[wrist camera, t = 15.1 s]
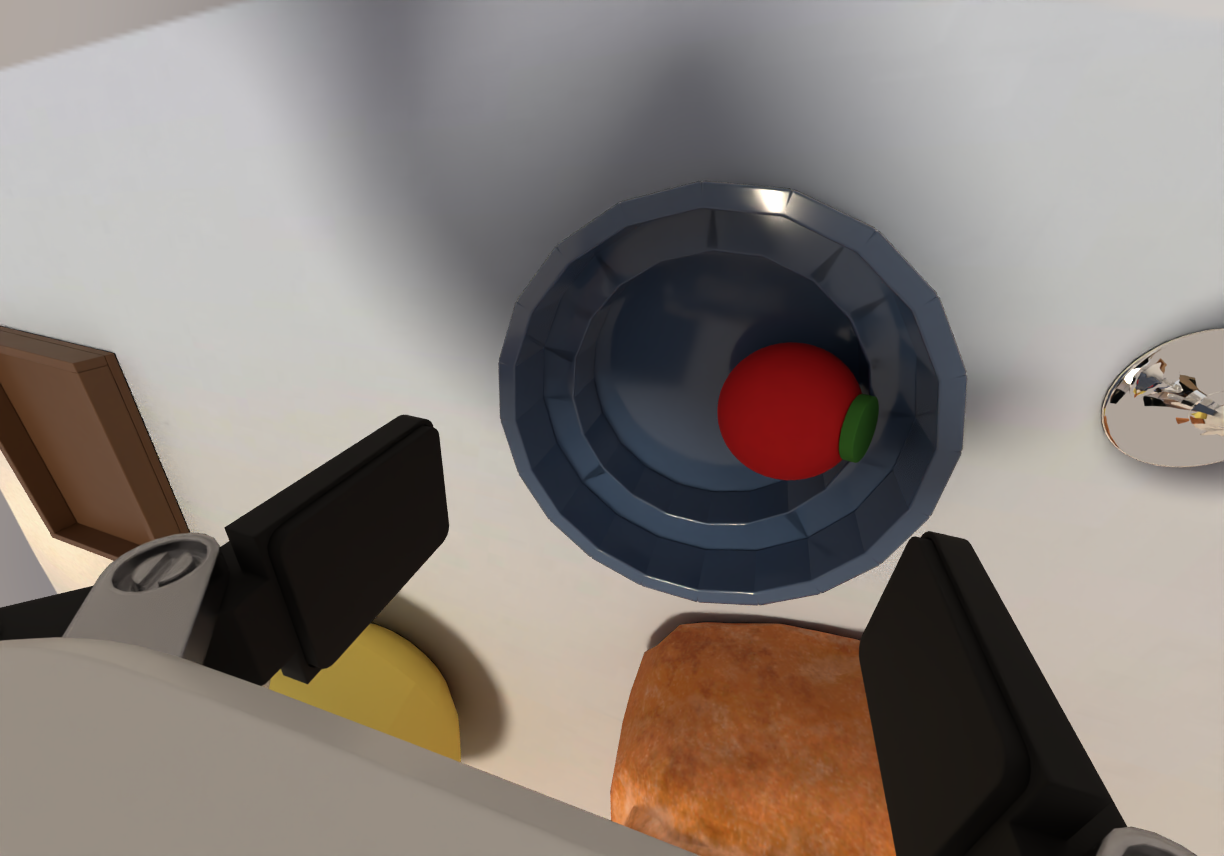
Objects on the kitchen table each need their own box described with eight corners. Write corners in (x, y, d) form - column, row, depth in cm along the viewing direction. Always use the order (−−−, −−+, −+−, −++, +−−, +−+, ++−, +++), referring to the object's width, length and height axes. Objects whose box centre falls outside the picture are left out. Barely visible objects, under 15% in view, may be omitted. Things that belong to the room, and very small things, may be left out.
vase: (295, 684, 41) (-25, 1012, 25) (278, 532, 32) (-248, 893, 16) (484, 786, 39) (269, 1223, 22) (525, 653, 30) (211, 1228, 13)
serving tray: (-28, 319, 32) (-74, 326, 30) (114, 353, 29) (72, 363, 27) (83, 522, 40) (52, 537, 38) (203, 566, 37) (176, 584, 35)
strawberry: (699, 337, 15) (857, 360, 12) (766, 332, 18) (904, 349, 15) (684, 470, 16) (822, 521, 13) (749, 444, 19) (873, 480, 16)
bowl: (563, 168, 17) (491, 161, 13) (987, 207, 14) (1080, 214, 10) (554, 480, 23) (503, 546, 19) (846, 553, 20) (865, 652, 16)
